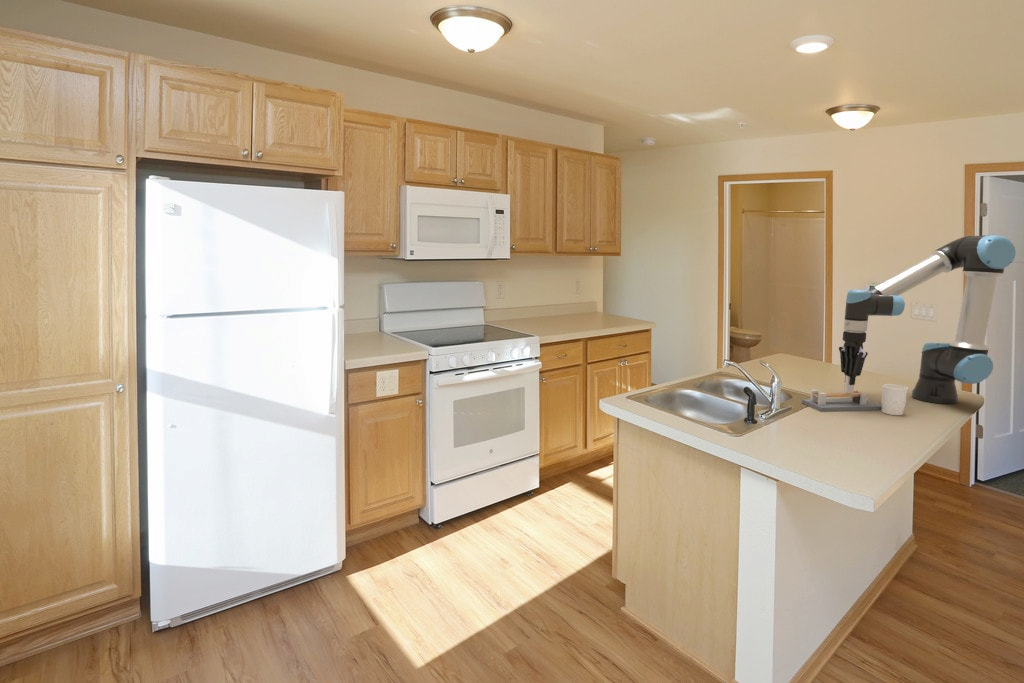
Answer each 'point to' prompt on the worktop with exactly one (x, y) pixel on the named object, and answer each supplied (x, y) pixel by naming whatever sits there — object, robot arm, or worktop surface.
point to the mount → (840, 403)
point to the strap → (841, 394)
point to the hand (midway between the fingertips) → (848, 392)
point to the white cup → (893, 399)
